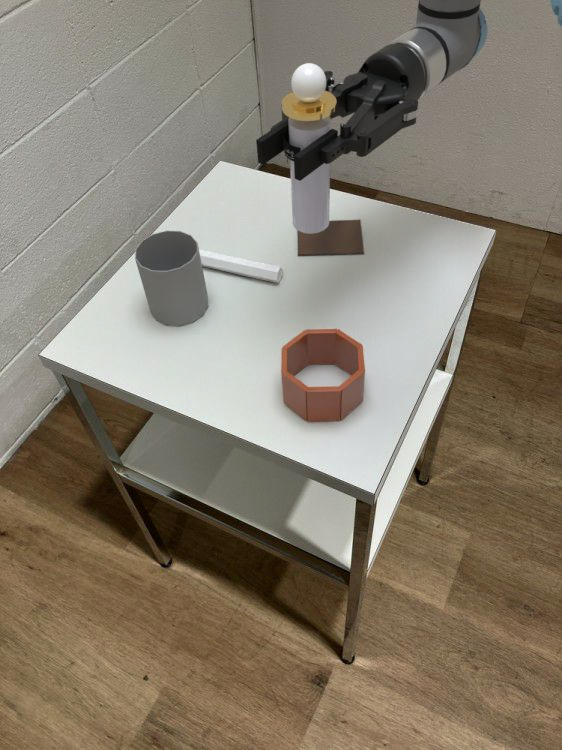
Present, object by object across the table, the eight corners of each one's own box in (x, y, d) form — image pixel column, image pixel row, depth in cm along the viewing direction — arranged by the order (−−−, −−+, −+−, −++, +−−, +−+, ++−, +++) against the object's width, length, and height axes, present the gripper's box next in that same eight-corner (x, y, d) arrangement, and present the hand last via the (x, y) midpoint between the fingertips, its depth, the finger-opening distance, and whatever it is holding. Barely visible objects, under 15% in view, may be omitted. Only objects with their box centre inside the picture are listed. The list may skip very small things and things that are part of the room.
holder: (359, 359, 83) (361, 327, 78) (364, 420, 77) (367, 390, 72) (284, 361, 83) (281, 329, 79) (283, 422, 77) (280, 392, 73)
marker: (184, 262, 98) (281, 282, 94) (178, 264, 96) (276, 284, 92) (185, 245, 97) (283, 264, 93) (179, 246, 95) (278, 267, 91)
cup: (220, 297, 92) (210, 242, 84) (185, 334, 87) (171, 279, 80) (174, 278, 95) (161, 223, 87) (138, 312, 91) (121, 258, 83)
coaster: (360, 221, 101) (360, 219, 101) (363, 254, 96) (363, 252, 96) (297, 223, 102) (297, 221, 102) (297, 256, 97) (297, 254, 96)
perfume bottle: (322, 208, 82) (323, 47, 66) (341, 234, 78) (346, 70, 63) (281, 220, 80) (271, 59, 65) (298, 246, 77) (292, 83, 61)
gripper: (458, 124, 77) (343, 219, 67) (342, 84, 85) (222, 164, 74) (470, 61, 71) (345, 155, 61) (344, 25, 79) (214, 102, 68)
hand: (278, 160), depth 68 cm, fingers closed on perfume bottle, 4 cm apart
